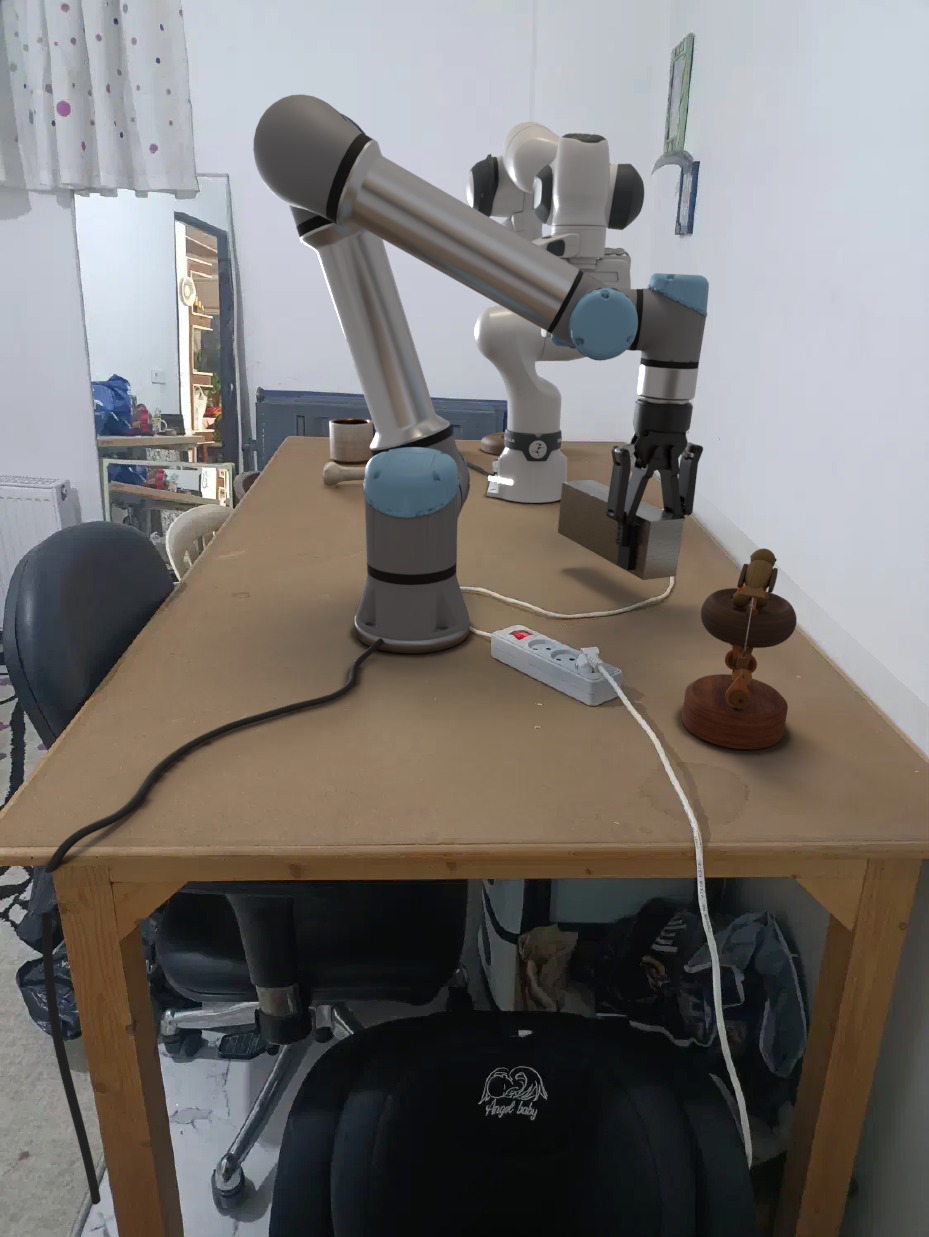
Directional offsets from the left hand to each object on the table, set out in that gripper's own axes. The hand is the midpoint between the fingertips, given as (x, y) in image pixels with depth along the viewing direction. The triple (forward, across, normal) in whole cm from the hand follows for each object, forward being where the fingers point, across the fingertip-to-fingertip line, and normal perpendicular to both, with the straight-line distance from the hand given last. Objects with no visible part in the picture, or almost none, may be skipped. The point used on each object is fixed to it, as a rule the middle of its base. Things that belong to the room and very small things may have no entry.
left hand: (642, 565), depth 121 cm
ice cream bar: (+7, -36, -103) cm, 110 cm away
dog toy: (+8, +13, -85) cm, 87 cm away
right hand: (-28, -6, -35) cm, 46 cm away
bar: (+1, 0, -8) cm, 8 cm away
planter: (+8, +8, -112) cm, 113 cm away
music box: (+6, +11, +33) cm, 35 cm away
